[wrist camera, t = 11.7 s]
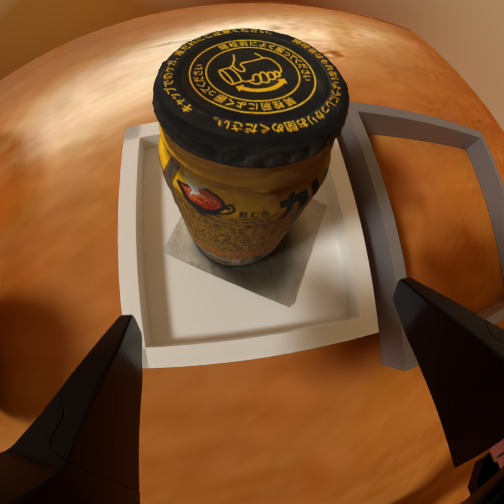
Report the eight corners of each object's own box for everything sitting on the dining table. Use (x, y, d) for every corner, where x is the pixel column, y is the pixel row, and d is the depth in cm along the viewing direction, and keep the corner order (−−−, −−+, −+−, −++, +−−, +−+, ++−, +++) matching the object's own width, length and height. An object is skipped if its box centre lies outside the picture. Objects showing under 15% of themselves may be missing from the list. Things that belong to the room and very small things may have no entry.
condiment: (213, 158, 18) (204, 2, 6) (326, 206, 18) (431, 87, 6) (163, 253, 16) (58, 147, 5) (288, 307, 16) (415, 297, 5)
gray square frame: (509, 304, 19) (527, 302, 16) (381, 364, 17) (404, 370, 14) (467, 143, 23) (481, 132, 20) (331, 122, 21) (342, 101, 18)
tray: (361, 330, 17) (378, 332, 15) (142, 361, 16) (129, 368, 13) (318, 130, 21) (327, 112, 18) (134, 146, 19) (125, 128, 16)
